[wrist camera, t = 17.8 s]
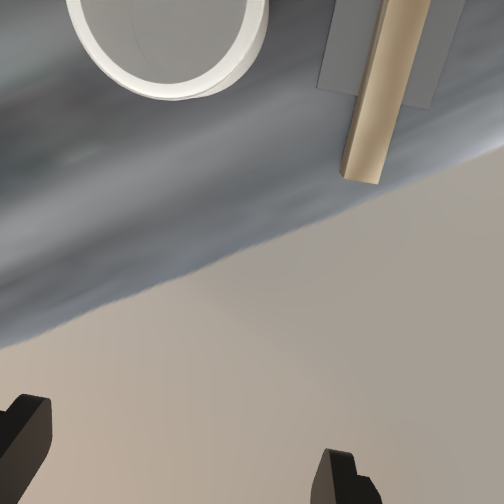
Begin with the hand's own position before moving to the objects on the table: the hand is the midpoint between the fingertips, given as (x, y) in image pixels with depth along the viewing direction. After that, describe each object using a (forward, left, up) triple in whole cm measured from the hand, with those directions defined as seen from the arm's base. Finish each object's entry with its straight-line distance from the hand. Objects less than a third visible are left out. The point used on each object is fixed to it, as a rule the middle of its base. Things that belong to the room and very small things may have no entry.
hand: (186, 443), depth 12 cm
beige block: (+9, +13, -30) cm, 34 cm away
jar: (-6, +13, -30) cm, 34 cm away
